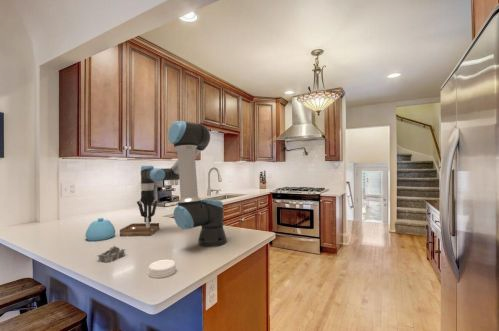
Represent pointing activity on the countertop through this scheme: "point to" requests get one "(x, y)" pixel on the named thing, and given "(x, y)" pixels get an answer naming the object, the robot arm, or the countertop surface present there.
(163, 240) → the countertop surface
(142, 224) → the tray
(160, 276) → the coaster
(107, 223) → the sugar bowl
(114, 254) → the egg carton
